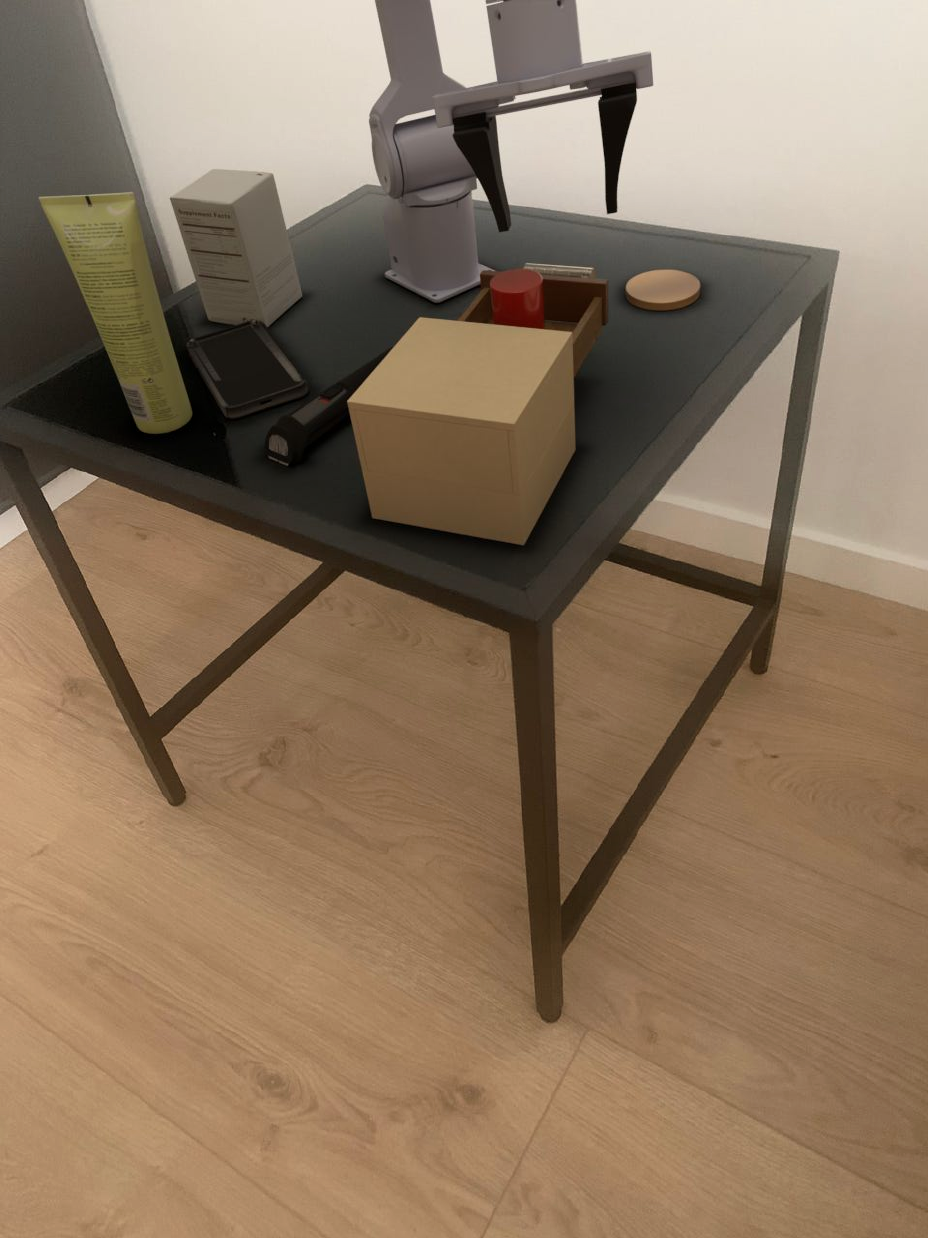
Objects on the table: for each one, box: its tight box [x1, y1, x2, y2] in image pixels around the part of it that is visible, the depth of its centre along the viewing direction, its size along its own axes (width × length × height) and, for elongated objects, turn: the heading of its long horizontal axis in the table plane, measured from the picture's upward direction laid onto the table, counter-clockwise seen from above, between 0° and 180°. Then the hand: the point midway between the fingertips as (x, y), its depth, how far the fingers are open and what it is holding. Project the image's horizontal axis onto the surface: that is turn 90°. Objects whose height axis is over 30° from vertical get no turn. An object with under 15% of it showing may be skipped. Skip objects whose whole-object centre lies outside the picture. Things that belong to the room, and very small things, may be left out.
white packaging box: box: [169, 168, 303, 329], centre depth 94 cm, size 7×7×13 cm
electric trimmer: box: [263, 345, 395, 467], centre depth 80 cm, size 4×16×3 cm, turn 142°
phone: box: [185, 320, 309, 420], centre depth 88 cm, size 8×1×15 cm
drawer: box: [456, 262, 609, 378], centre depth 77 cm, size 16×11×4 cm
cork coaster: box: [625, 269, 701, 312], centre depth 91 cm, size 7×7×1 cm
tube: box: [38, 191, 193, 435], centre depth 77 cm, size 6×5×20 cm
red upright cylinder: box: [490, 268, 546, 329], centre depth 74 cm, size 4×4×6 cm
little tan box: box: [347, 316, 577, 546], centre depth 69 cm, size 12×12×10 cm
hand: (558, 219), depth 68 cm, fingers open, 7 cm apart
